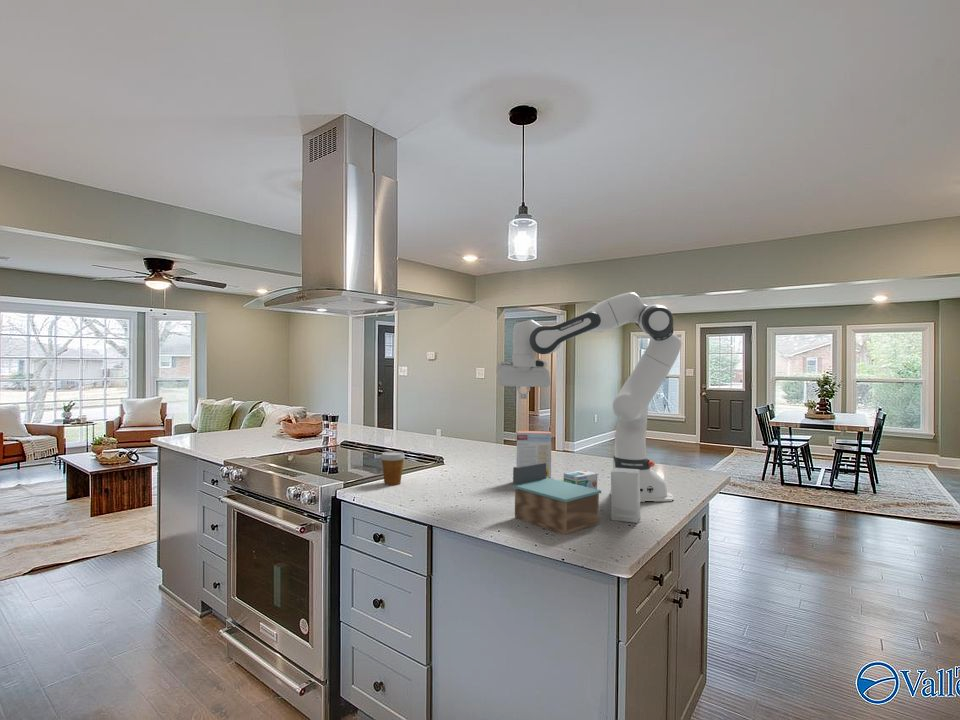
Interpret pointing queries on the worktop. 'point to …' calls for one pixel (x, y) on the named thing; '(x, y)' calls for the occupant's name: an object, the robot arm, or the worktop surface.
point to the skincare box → (625, 494)
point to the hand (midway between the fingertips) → (523, 398)
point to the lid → (548, 484)
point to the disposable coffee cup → (392, 467)
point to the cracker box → (534, 449)
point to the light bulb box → (582, 478)
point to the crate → (557, 511)
